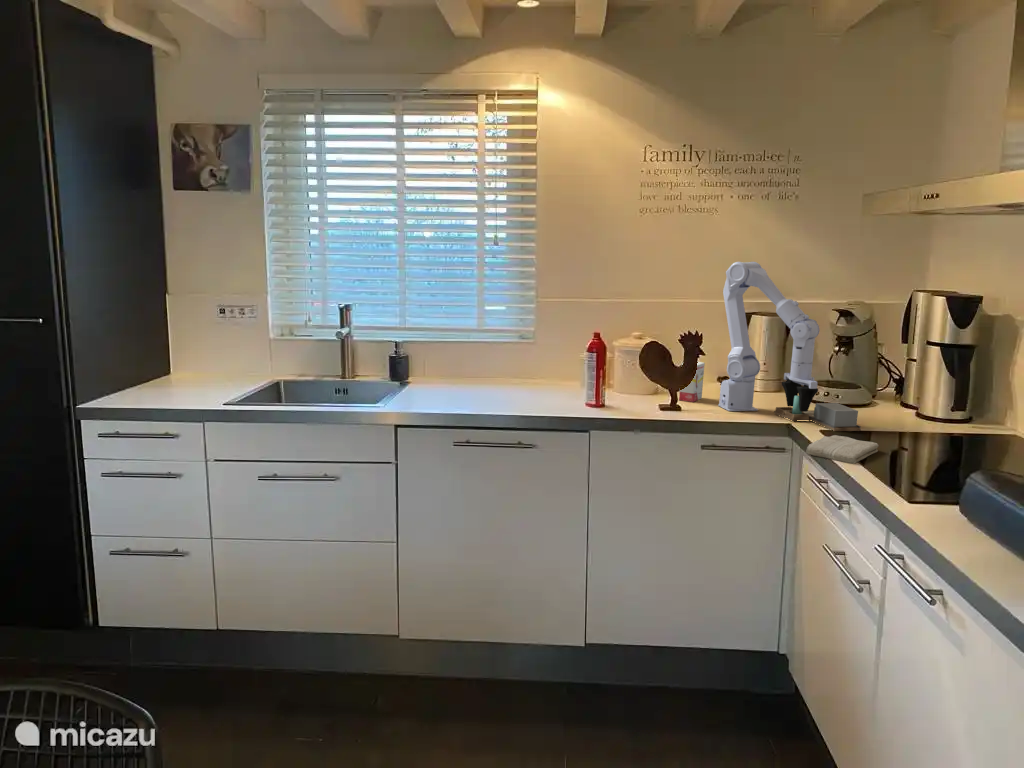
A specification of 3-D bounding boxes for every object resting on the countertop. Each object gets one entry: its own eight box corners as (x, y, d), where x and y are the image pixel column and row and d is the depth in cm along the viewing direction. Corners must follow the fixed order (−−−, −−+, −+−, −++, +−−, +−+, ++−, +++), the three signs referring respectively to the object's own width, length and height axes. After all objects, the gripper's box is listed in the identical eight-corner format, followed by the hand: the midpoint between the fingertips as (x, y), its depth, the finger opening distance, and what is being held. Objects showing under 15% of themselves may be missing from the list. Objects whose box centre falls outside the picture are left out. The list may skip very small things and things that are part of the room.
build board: (792, 421, 232) (793, 415, 232) (774, 413, 242) (775, 407, 242) (809, 421, 233) (810, 414, 233) (790, 413, 243) (791, 406, 243)
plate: (833, 431, 222) (835, 419, 222) (791, 413, 243) (792, 402, 243) (860, 430, 224) (861, 419, 223) (816, 412, 245) (817, 402, 244)
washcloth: (879, 452, 203) (881, 440, 203) (855, 466, 190) (856, 454, 189) (831, 443, 211) (833, 431, 210) (804, 456, 198) (806, 444, 197)
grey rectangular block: (834, 426, 223) (835, 411, 222) (814, 418, 233) (815, 403, 232) (856, 426, 224) (858, 410, 224) (835, 418, 234) (837, 403, 233)
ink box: (693, 402, 254) (696, 365, 252) (678, 400, 257) (680, 363, 255) (702, 398, 261) (705, 362, 259) (688, 396, 264) (690, 360, 262)
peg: (794, 417, 233) (797, 397, 232) (790, 415, 236) (792, 395, 235) (803, 417, 234) (805, 397, 233) (798, 415, 236) (800, 395, 235)
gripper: (829, 366, 226) (824, 414, 228) (801, 358, 240) (796, 403, 242) (805, 366, 224) (801, 414, 227) (779, 358, 238) (774, 403, 241)
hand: (797, 408), depth 234 cm, fingers open, 6 cm apart
